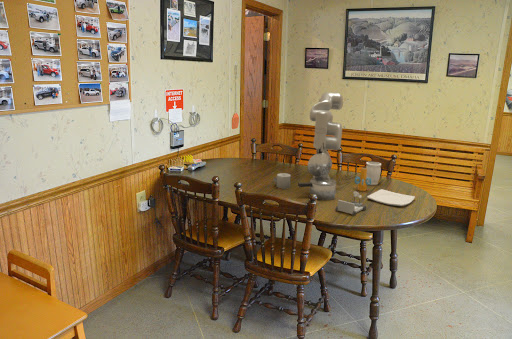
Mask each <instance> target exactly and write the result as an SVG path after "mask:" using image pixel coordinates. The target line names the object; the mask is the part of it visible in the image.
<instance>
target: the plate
mask: <svg viewBox="0 0 512 339" xmlns="http://www.w3.org/2000/svg"><path fill="white" fill-rule="evenodd" d="M366 197H367V198H368V199H369V200H372V201H375V202H377V203H381V204H383V205H388V206H395V207H404V206H407V205H410V204H411V203H412V202H413V201H414V199H416V196H415V195H410V194H408V195H407V194H404V193H397V192H393V191H390V190H386V189H383V188H381V189H378V190H376V191H374V192H372V193H371V194H369V195H367V196H366Z"/></svg>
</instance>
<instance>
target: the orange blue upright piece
mask: <svg viewBox="0 0 512 339" xmlns="http://www.w3.org/2000/svg"><path fill="white" fill-rule="evenodd" d="M366 177H367V168H366V167H361V168H360V175H359V176H355V177H354V183H355V184H356V185H357V191H360V192H366V191H368V190H367V189H368V186H371V185H370V184H371V178H370V177H368V178H369V179H368V178H366ZM367 180H370V181H369V182H367ZM368 183H370V184H368Z"/></svg>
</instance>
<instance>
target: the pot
mask: <svg viewBox="0 0 512 339" xmlns="http://www.w3.org/2000/svg"><path fill="white" fill-rule="evenodd" d="M297 186H298V188H308V187H309V195H310V194H316V195H317V197H318V199H317V200H319V201H331V200H334V199H335V198H336V189H337V188H336V187H337V180H336V179H332V178H330V179H329V178H313V177H312V178H311V179H310V181H309V182H307V181H305V182H303V181H302V182H301V181H300V182H297Z"/></svg>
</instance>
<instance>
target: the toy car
mask: <svg viewBox="0 0 512 339" xmlns="http://www.w3.org/2000/svg"><path fill="white" fill-rule="evenodd" d="M358 191H359V190H357V191H356V190H354V191H353V192H352V194H353V195H352V196H353V197H354V200H352V201H351V202H350V201H348V200H347V201H345V200H341V199H338V200H337V201H338V202H337V205H336V207H335V211H336V212H343V213H346V214H351V215H352V216H353V217H355V216H356V215H357V213H359V212H361V211H366V210H367V206H366V205H364V203H363V202H362V203H361V198H362V197H363V196H362V195H361V194H360V192H358ZM356 198H359V202H358V201H356Z"/></svg>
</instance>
